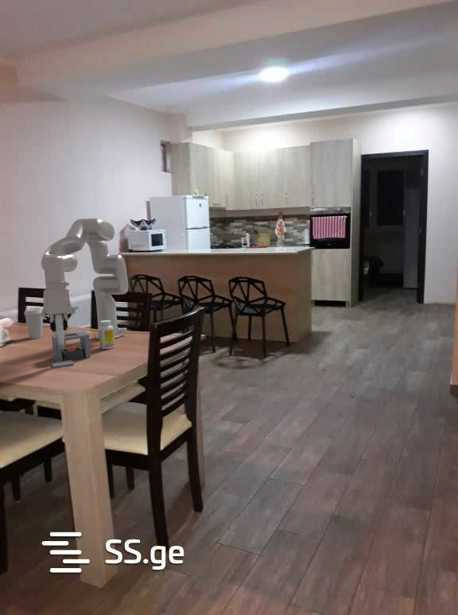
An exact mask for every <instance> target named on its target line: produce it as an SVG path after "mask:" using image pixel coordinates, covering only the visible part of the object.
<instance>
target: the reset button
mask: <svg viewBox="0 0 458 615" xmlns="http://www.w3.org/2000/svg"><path fill="white" fill-rule="evenodd" d="M77 347H78V346H68V347H66V348H65V349H66V352H71V351H77Z"/></svg>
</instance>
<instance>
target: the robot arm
mask: <svg viewBox="0 0 458 615" xmlns="http://www.w3.org/2000/svg"><path fill="white" fill-rule="evenodd" d="M115 234H116V233H115V228H114V225H113V224H112V223H111V222H108V221H106V220H104V219H101V218H97V217H95V218H78V219H75V221H74V222H73V223H72V225H71V226H70V228H69V229H68V231H67V233H66V234H65V236H64V237H63V238H61V239H60V240H59V239H58V240H57V241H56V242H53V243H52V244H51V245H49V246H48V248H46V250H45V252H44V253H43V255H42V258H41V262H40V265H41V268H42V270H43V271H44V281H45V282H44V283H45V284H44V285H45V289H44V290H43V294H42V295H43V297H42V298H43V299H42V301H43V303H42V304H43V305H42V306H43V308H42V312H41V313H40V316H41V317H43V319H46V320H47V321H48V322H49V329H50V330H51V332H52V333H54V332H55V324H54V321H53V316H54V315H55V314H63V318H64V330H65V331H66V332H67V331H68V327H69V324H68V321H69V319H70V318H71V317H72V316H73V315H75V313H76V310H75V309H74V308H73V307H72V305H71V301H70V295H69V290H68V288H67V287H68V286H70V283H69V282H67V281H66V279H65V278H66V277H65V273H71V272H72V273H73V272H75V270H76V269H77V267H78V260H77V258H76V256H75V255H73V254H75V253H77V252H79V251H82V249H83V247H84V246H85V244H87V245H88V248H89V251H90V257H91V263H92V268H93V270H94V272H95V274H99V276H96V277H95V278H94V279H93V280H92V287H93V291H94V296H95V303H96V314H97V327H98V328H97V329H98V332H99V327H100V326H101V324H100V321H103V320H110V321H111V324H110V325H111V326H112V327H113V331H114V339H117V338H120V337H121V336H122V333H123V332H124V333H125V332H127V331H128V329H127V327H118V320H117V319H118V318H117V317H118V316H117V306H116V305H117V304H116V303H117V302H116V301H115V299H114V298H113V296H112V295H125V294H126V293H128V291H129V280H128V279H129V278H128V272H127V266H126V261H125V258H124V257H123V256H122V255H121V254H110V253H109V248H108V244H107V242H111V241H112V240H113V239H114V237H115ZM95 338H96V339H98V340H100V339H99V333H97V334H95Z"/></svg>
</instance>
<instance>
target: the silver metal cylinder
mask: <svg viewBox="0 0 458 615" xmlns="http://www.w3.org/2000/svg"><path fill="white" fill-rule="evenodd" d="M53 321H54V324H55V332H53V333H54V334H53V335H55V345H56V349H66V348H67V345H66V344H67V340H65V334H66V332H65V330H64V317H63V314H55V315H54V316H53Z"/></svg>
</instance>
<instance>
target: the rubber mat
mask: <svg viewBox="0 0 458 615" xmlns="http://www.w3.org/2000/svg"><path fill="white" fill-rule="evenodd" d="M50 364H51V367H52V368H53V369H59V368H64V367H70V365H71V366H74V365H75V362H74V361H72V360H67V361H65V360H62V361H61V362H57V361H55V362H51V363H50Z"/></svg>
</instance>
